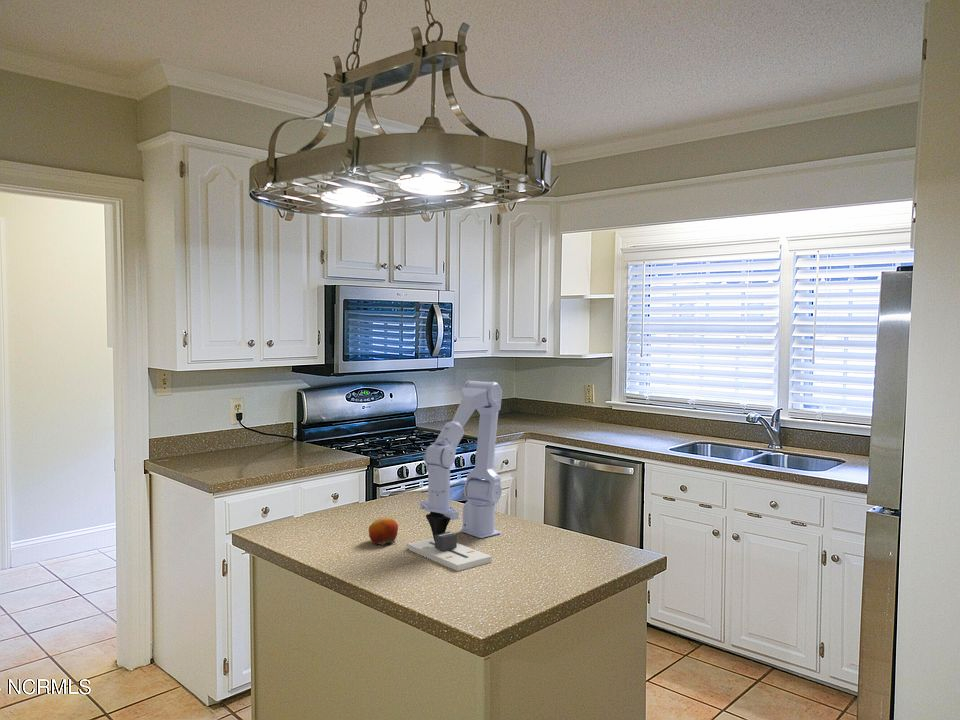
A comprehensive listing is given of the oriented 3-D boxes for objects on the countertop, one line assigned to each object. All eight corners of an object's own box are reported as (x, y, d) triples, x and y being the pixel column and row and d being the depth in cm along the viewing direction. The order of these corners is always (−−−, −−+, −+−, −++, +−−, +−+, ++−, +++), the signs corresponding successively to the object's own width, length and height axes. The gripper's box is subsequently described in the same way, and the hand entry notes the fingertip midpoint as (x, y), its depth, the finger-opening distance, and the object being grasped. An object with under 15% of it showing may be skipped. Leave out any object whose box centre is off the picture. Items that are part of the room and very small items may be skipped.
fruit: (383, 545, 194) (374, 516, 197) (369, 554, 199) (361, 526, 202) (408, 539, 199) (399, 511, 202) (394, 548, 205) (385, 521, 207)
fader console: (406, 549, 195) (406, 543, 195) (439, 541, 202) (439, 536, 202) (457, 571, 178) (457, 564, 178) (491, 562, 185) (491, 555, 185)
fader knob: (434, 547, 191) (434, 534, 191) (448, 544, 194) (448, 531, 194) (442, 551, 188) (442, 537, 188) (456, 547, 191) (456, 534, 191)
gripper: (410, 487, 196) (410, 537, 196) (443, 497, 185) (442, 550, 185) (432, 483, 200) (431, 532, 201) (465, 493, 189) (464, 545, 190)
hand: (438, 540), depth 193 cm, fingers closed
